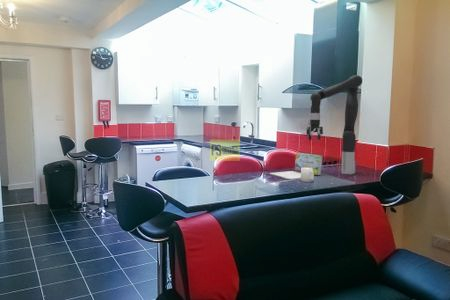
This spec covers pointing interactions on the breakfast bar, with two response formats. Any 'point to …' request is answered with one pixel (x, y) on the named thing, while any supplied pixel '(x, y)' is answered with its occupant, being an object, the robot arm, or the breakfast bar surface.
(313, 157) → the snack box
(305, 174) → the mug
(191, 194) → the breakfast bar surface
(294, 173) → the mat
